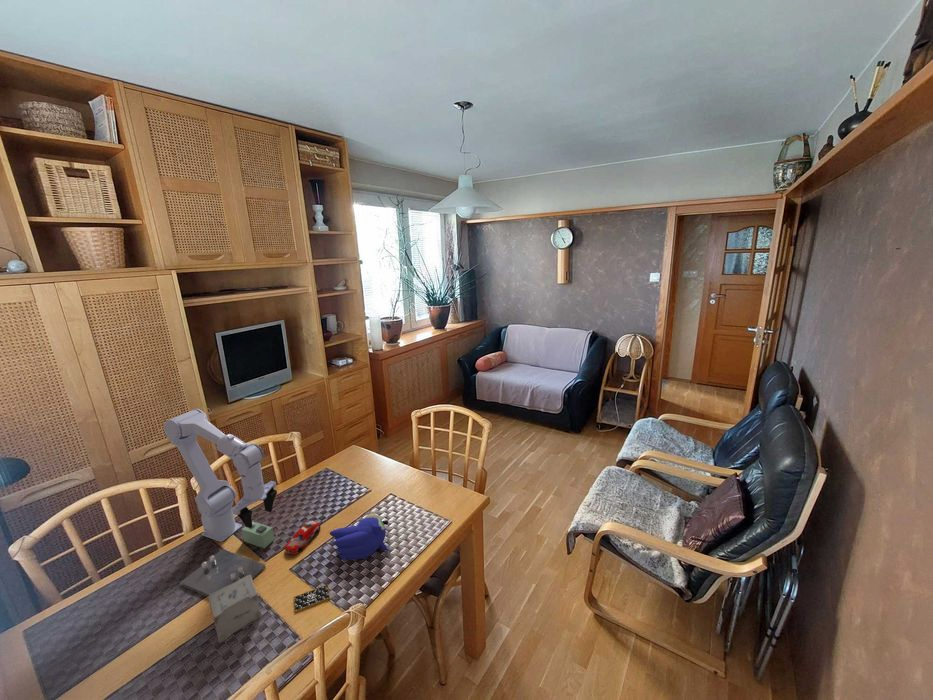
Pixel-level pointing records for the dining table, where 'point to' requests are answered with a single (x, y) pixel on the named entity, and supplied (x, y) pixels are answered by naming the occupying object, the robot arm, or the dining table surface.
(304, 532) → the race car
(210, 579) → the chassis
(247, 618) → the grey box
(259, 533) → the green box
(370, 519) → the toy
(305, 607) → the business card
